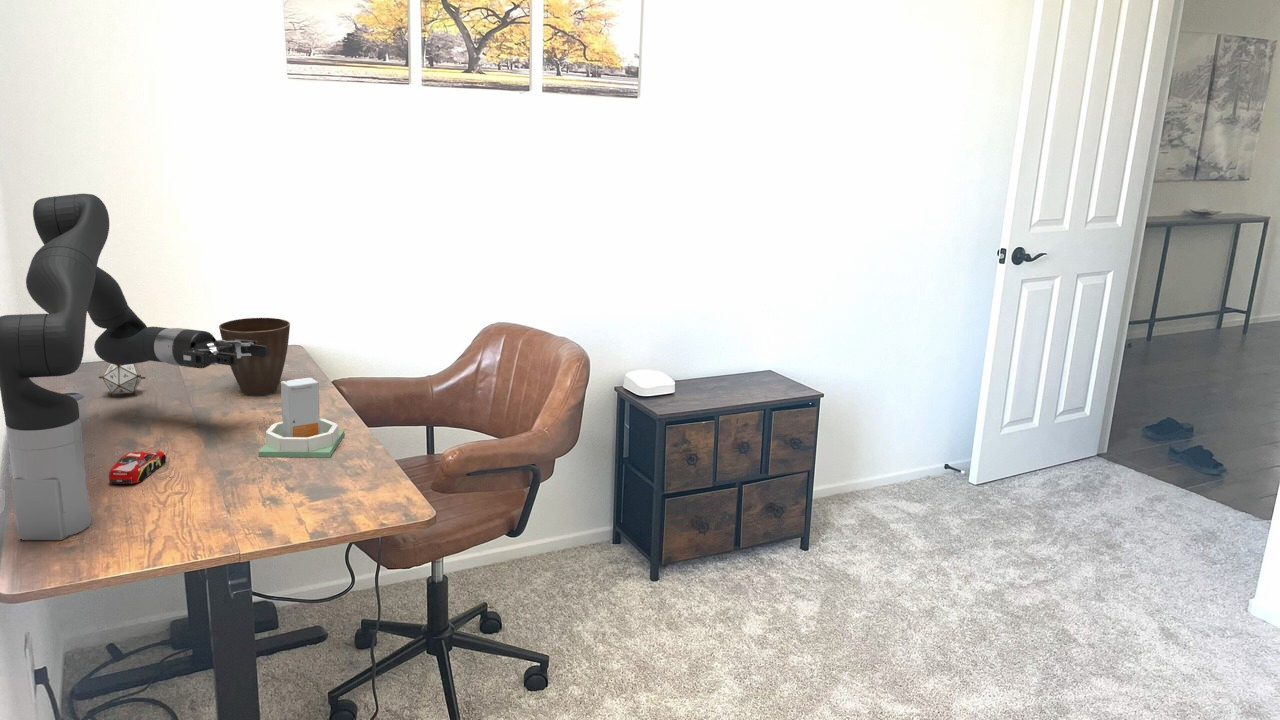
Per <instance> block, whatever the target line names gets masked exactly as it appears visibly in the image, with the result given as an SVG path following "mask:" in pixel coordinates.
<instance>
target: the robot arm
mask: <svg viewBox="0 0 1280 720" xmlns="http://www.w3.org/2000/svg"><path fill="white" fill-rule="evenodd" d="M32 215H33V216H32V217H33V222H34V226H35V227H34V228H35V230H36V232H37V235H38V236H39V238H40V240H41V241H42V244H43V246H41V247H40V248H39V249H38V250H37V251H36V252H35V253H34V256H33V257H32V259H31V261H30V265H29V267H28V271H27V274H26V279H25V285H26V290H27V293H28V294H29V296H30V297H31V299H32V300H33V301H34V302H35V303H36V305H38V306H39V308H41V309H43V310H44V311H45V312H46V313H25V314H6V315H4V314H3V315H1V316H0V396H1V404H2V408H3V409H2V410H3V415H4V421H5V423H4V424H5V427H6V434H7V441H8V444H7V445H8V450H9V451H8V453H9V458H10V467H11V474H12V480H11V482H10V485H11V493H12V500H13V507H14V508H13V509H14V515H15V523H16V529H17V531H16V532H17V536H18V537H17V539H18V540H19V539H22V540H21V541H62V540H64V539H66V538H67V537H69V536H68V535H70V536H73V535H76V534H78V533H80V532H83V531H85V530H86V529H88V527H90V525H91V523H92V519H91V518H92V516H91V507H90V498H89V489H88V481H87V480H88V479H87V472H86V464H85V463H86V462H85V454H84V453H85V452H84V446H83V445H84V444H83V436H82V435H83V433H82V427H81V426H82V425H81V418H80V415H81V414H80V408H79V403H78V401H77V399H76V398H74V397H73V396H71V395H69V394H64V393H61V392H57V391H53V390H49V389H46V388H45V387H41V386H40V385H38V384H36V383H35V382H34V381H32V380H31V379H32V378H49V377H62V376H63V377H64V376H68V375H71V374H73V373H76V371H78V369H79V368H80V367H81V364H82V361H83V357H84V351H85V340H86V339H85V338H86V327H87V326H86V325H87V315H89V318H90V320H91V321H92V323H93V324H94V325H95V326H96V327H98V328H100V329H104V331H103V332H102V333H100V335H99V336H98V337H97V338H96V340H95V341H94V352H95V354H96V355H97V356H98V358H100V359H101V360H102V361H104V362H106V363H108V364H110V363H111V364H115V365H129V364H135V365H136V364H140V363H146V362H150V361H151V362H158V363H165V364H168V365H172V366H178V367H184V368H185V367H186V368H193V369H205V368H208V367H210V366H211V365H212V366H218V365H223V366H235V365H237V358H241V356H258V357H267V356H268V355H269V354H268V347H267V346H263V345H257V341H255V340H253V341H252V340H242V339H235V338H234V339H231V341H225V340H222V339H217V338H215V336H214V335H213V334H212V333H210V332H209V331H207V330H206V331H205V330H201V329H200V330H198V329H189V328H183V327H181V328H180V327H172V328H171V327H163V326H162V327H161V326H148V325H146V323H145V322H144V321H143V320H142V319H141V318H140V317H139V316H138V315H137V314H136V313H135V312H134V310H133V309H132V308H131V307H130V306H129V304H128V301H127V300H126V297H125V295H124V292H123V290H122V288H121V286H120V284H119V283H118V282H117V280H116V279H115V278H114V277H113V276H112V275H111V274H109V272H106V270H104V269H103V268H101V267H99V266H98V262H99V258H100V256H101V253H102V251H103V249H104V247H105V245H106V242H107V240H108V237H109V233H110V215H109V212H108V209H107V206H106V204H105V203H104V201H102V199H101V198H100V197H98V196H97V195H95V194H91V193H75V194H67V195H65V194H64V195H57V196H48V197H43V198H39V199H38V200H36V201H35V202H34V204H33V209H32ZM233 352H237V354H233Z"/></svg>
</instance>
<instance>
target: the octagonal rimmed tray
mask: <svg viewBox="0 0 1280 720" xmlns="http://www.w3.org/2000/svg"><path fill="white" fill-rule="evenodd" d="M344 437H345V429H344V430H343V429H339V424H338V423H335V422H333V421H330V420H328V419H326V418H320V434H319V435H315V436H311V437H283V421H279V422H275V423H273V424H271V425H270V426H269V428H267V430H266V431H265V440H266V441H265V443H264V445H263V446H262V447H261V448H260V449H259V450H258V457H259V458H262V457H263V458H264V457H265V458H266V457H267V458H273V457H274V458H331V456H332V455H333V453H334V451H335V450H336V449H337V447H338V446H339V444H340V443H341V441H342V439H343V438H344Z"/></svg>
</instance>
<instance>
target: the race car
mask: <svg viewBox="0 0 1280 720" xmlns="http://www.w3.org/2000/svg"><path fill="white" fill-rule="evenodd" d="M166 459H167V455H166V454H165V452H163V451H162V450H161V451H160V450H156V449H148V450H141V451H132V452H128V453H126V454H124V455H123V456H122V457H121V458H119V460H117V461H116V463H115V464H114V465H113V466H112V467H111V468H110V470H109V473H108V481H109V483H110V484H112V485H113V484H121V485H122V484H123V485H125V484H126V485H129V484H136V483H140V482H141V483H142V482H143V481H145V480H146V478H147V477H149V476H150V475H151V474H152V473H154V472H155V471H156V470H158V469H159V468H160V467H161V466H163V465H164V464H166ZM144 479H145V480H144Z"/></svg>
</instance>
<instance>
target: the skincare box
mask: <svg viewBox="0 0 1280 720" xmlns="http://www.w3.org/2000/svg"><path fill="white" fill-rule="evenodd" d="M319 383H320V382H319V381H317V380H315V379H314V378H312V377H306V378H295V379H290V380H283V381H281V380H280V391H281V393H280V394H281V397H280V398H281V417H282V421H281V422H283V437H311V436H315V435H319V434H320V419H321V417H320V415H321V414H320V384H319Z"/></svg>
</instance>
